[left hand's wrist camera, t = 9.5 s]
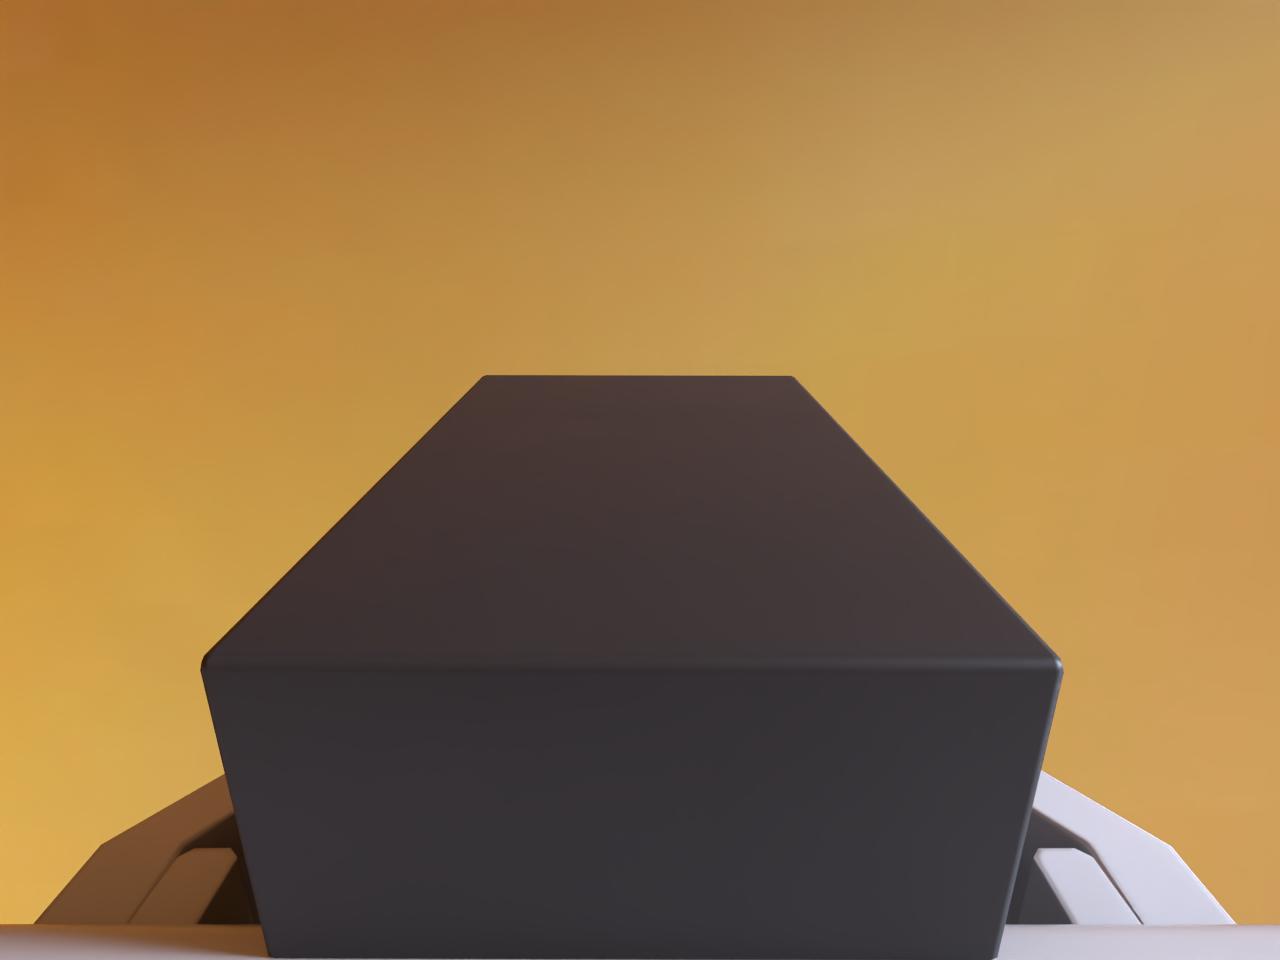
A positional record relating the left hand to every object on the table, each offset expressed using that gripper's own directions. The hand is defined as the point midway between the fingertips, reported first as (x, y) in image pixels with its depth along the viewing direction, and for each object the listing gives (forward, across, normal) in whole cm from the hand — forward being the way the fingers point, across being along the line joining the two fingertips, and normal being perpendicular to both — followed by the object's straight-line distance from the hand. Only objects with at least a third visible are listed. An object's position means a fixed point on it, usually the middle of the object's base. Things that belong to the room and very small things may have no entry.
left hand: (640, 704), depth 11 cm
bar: (+3, 0, -9) cm, 10 cm away
